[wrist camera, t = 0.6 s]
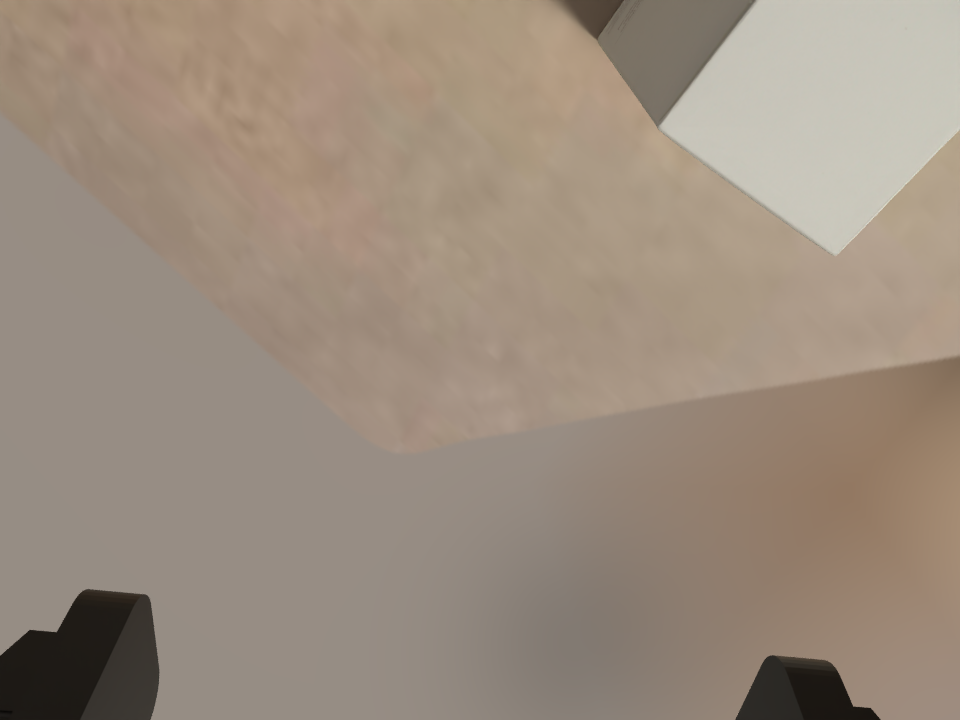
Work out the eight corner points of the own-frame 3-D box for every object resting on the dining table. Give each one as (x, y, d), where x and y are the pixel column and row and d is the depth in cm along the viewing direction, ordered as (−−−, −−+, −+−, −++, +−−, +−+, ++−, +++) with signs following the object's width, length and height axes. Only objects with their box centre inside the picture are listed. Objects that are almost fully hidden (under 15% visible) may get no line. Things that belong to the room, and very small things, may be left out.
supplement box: (590, 40, 33) (645, 125, 22) (716, -137, 30) (853, -139, 19) (724, 142, 35) (834, 265, 24) (855, -12, 32) (1049, 50, 21)
